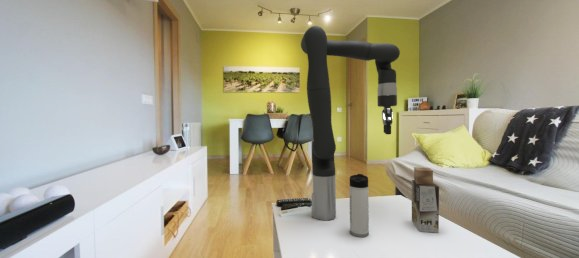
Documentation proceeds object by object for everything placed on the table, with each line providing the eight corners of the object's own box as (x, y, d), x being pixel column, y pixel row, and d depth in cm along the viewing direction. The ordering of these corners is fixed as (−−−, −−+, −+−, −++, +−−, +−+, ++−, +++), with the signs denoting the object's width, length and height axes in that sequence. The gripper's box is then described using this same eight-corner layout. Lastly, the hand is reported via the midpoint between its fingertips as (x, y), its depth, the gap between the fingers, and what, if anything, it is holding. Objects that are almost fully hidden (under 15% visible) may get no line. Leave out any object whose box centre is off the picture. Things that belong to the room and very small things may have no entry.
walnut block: (416, 184, 83) (416, 170, 83) (414, 180, 88) (414, 167, 88) (432, 185, 82) (433, 170, 81) (429, 181, 86) (429, 167, 86)
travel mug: (369, 230, 83) (369, 174, 83) (367, 239, 77) (367, 179, 77) (351, 227, 86) (351, 173, 85) (348, 235, 80) (347, 177, 79)
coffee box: (439, 233, 80) (439, 186, 80) (419, 231, 82) (419, 185, 81) (429, 221, 89) (429, 179, 88) (411, 220, 90) (411, 179, 90)
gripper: (376, 96, 106) (376, 132, 107) (378, 93, 92) (378, 134, 93) (394, 96, 104) (394, 132, 104) (399, 92, 90) (399, 134, 91)
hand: (387, 133), depth 99 cm, fingers open, 8 cm apart
